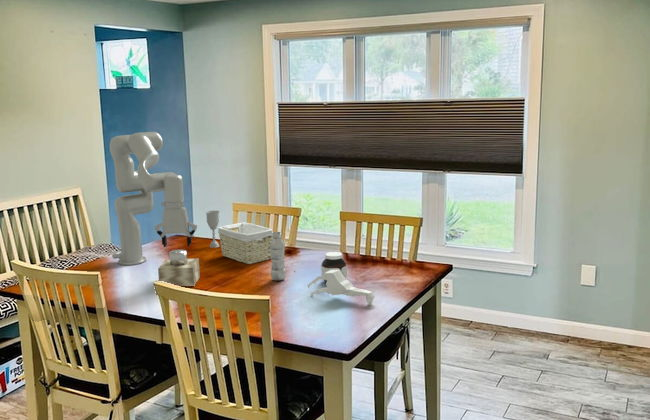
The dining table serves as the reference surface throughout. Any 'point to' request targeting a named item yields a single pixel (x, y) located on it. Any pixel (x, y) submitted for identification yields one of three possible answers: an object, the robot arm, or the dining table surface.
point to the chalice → (213, 225)
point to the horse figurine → (341, 286)
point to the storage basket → (245, 242)
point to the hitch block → (180, 273)
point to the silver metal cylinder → (178, 257)
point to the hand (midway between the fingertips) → (177, 245)
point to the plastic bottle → (277, 257)
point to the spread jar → (334, 263)
